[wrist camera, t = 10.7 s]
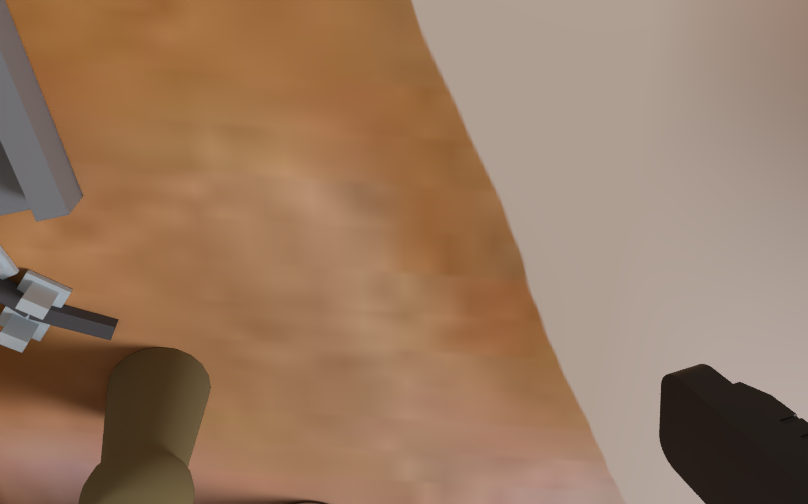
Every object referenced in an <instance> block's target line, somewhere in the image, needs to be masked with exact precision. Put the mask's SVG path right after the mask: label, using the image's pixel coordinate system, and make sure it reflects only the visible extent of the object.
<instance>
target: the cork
mask: <svg viewBox="0 0 808 504" xmlns="http://www.w3.org/2000/svg"><path fill="white" fill-rule="evenodd" d="M210 388H211V386H210V381H209V375H208V373H207V372H206V370H205V368H204V367H203V365H202V364H201V363H200V362H199V361H198V360H196V359H195V358H194V357H193V356H191V355H190V354H187V353H185V352H182V351H180V350H177V349H171V348H163V347H157V348H150V349H143V350H141V351H138V352H136V353H133V354H131V355H129V356H127V357H126V358H125V359H124V360H122V361H121V362H120V363H119V364H118V365H116V367H115V369H114V370H113V372H112V374H111V375H110V377H109V383H108V389H107V399H106V410H105V421H104V433H103V444H102V455H101V463H100V464H99V465H97V466H96V468H95V469H94V470H93V472H92V473H91V475H90V476H89V478H88V479H87V481H86V483H85V484H84V486H83V488H82V491H81V494H80V499H79V504H193V503H194V495H195V490H194V485H193V480H192V476H191V473H190V470H189V469H188V465H189V461H190V458H191V454H192V451H193V448H194V444H195V441H196V438H197V434H198V431H199V428H200V424H201V421H202V417H203V414H204V411H205V407H206V404H207V401H208V397H209V392H210Z"/></svg>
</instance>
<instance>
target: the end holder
mask: <svg viewBox="0 0 808 504" xmlns="http://www.w3.org/2000/svg"><path fill="white" fill-rule="evenodd" d="M82 197H83V195H82V192H81V190H80V187H79V185H78V182H77V180H76V177H75V175H74V172H73V170H72V167H71V165H70V162H69V160H68V157H67V155H66V152H65V150H64V147H63V145H62V142H61V140H60V137H59V135H58V132H57V130H56V127H55V125H54V122H53V120H52V117H51V115H50V112H49V110H48V107H47V105H46V102H45V100H44V97H43V95H42V92H41V90H40V87H39V85H38V82H37V80H36V77H35V75H34V72H33V70H32V67H31V65H30V62H29V60H28V57H27V55H26V52H25V50H24V47H23V45H22V42H21V40H20V37H19V35H18V32H17V30H16V27H15V24H14V22H13V19H12V17H11V14H10V12H9V9H8V7H7V4H6V2H5V0H0V215H5V214H10V213H15V212H20V211H25V210H29V209H31V211H32V213H33V215H34V217H35V220H36V221H41V220H46V219H51V218H55V217H60V216H65V215H69V214H70V213H71V211H72V210H73V209H74V207H75V206H76V205H77V203H78V202H79V201H80V199H81V198H82Z"/></svg>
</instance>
